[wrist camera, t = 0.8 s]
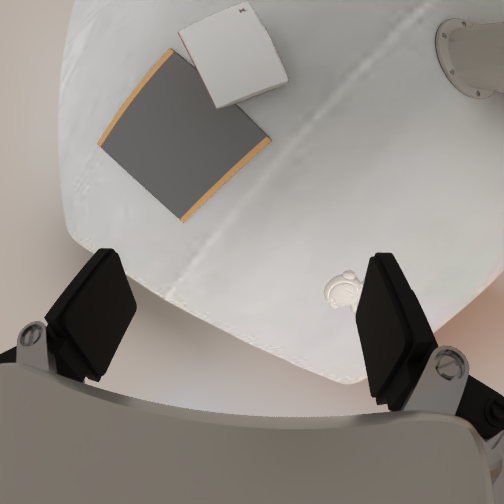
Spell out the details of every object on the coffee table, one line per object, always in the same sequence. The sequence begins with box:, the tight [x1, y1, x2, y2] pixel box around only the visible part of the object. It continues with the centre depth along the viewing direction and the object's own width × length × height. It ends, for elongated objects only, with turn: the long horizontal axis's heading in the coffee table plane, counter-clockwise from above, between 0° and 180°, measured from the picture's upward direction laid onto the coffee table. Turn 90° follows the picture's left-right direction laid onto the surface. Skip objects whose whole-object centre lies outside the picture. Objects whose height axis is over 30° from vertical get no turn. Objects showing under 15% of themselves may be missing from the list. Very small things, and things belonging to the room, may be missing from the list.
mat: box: [97, 49, 272, 223], centre depth 33 cm, size 17×18×1 cm
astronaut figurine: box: [324, 271, 365, 314], centre depth 44 cm, size 9×12×3 cm
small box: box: [178, 0, 289, 109], centre depth 22 cm, size 8×6×13 cm
